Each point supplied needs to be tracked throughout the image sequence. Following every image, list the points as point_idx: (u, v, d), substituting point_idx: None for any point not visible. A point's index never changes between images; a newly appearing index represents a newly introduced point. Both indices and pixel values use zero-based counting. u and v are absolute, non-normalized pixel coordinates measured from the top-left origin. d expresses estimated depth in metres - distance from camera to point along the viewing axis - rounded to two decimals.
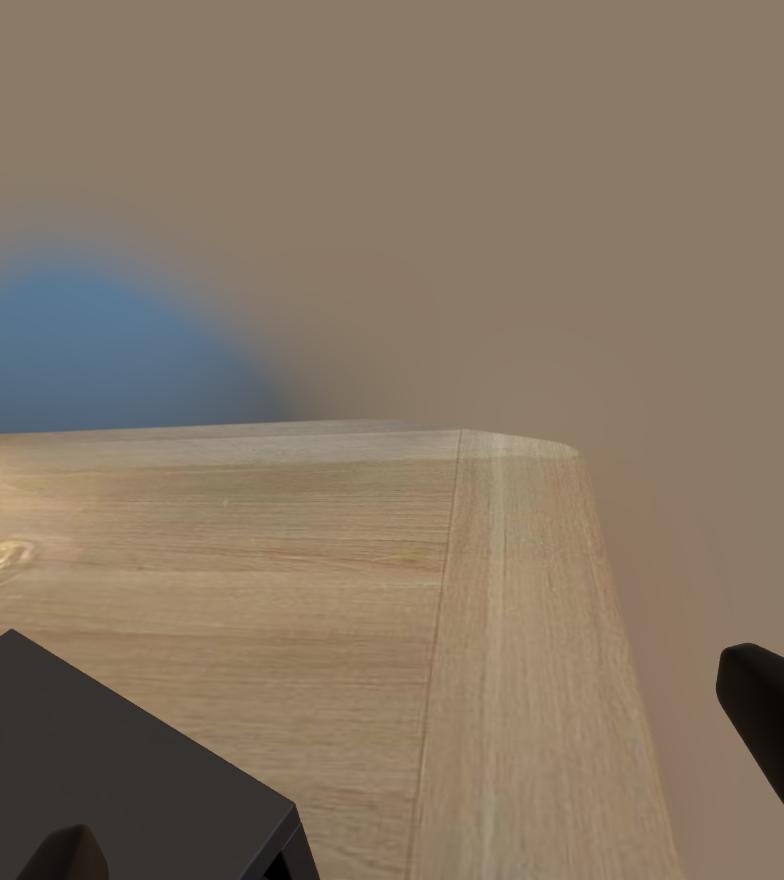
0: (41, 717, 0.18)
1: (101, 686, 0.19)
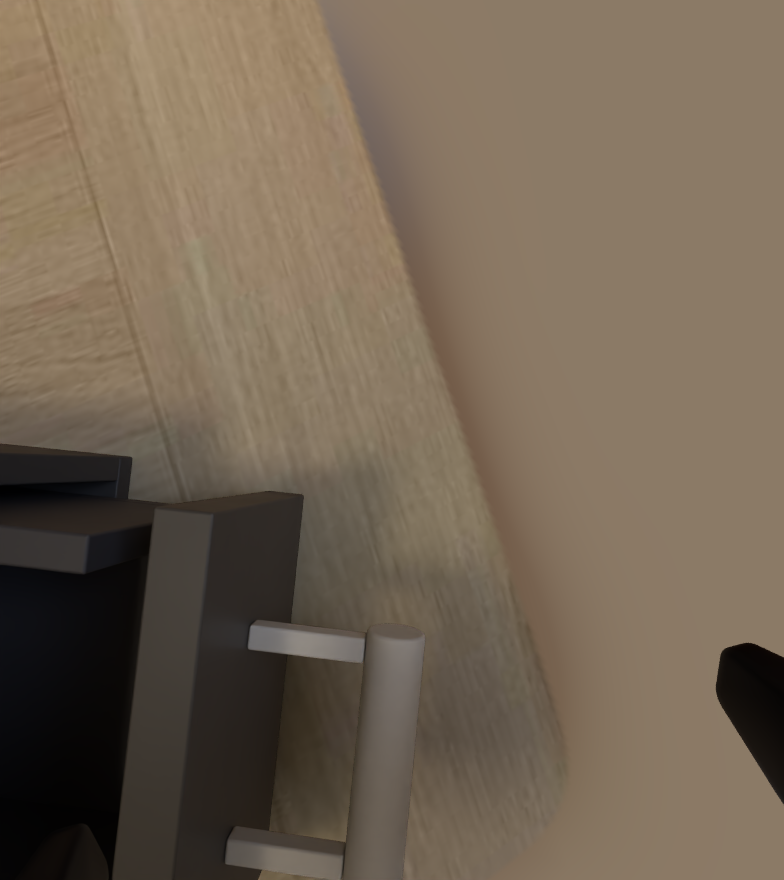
0: None
1: None
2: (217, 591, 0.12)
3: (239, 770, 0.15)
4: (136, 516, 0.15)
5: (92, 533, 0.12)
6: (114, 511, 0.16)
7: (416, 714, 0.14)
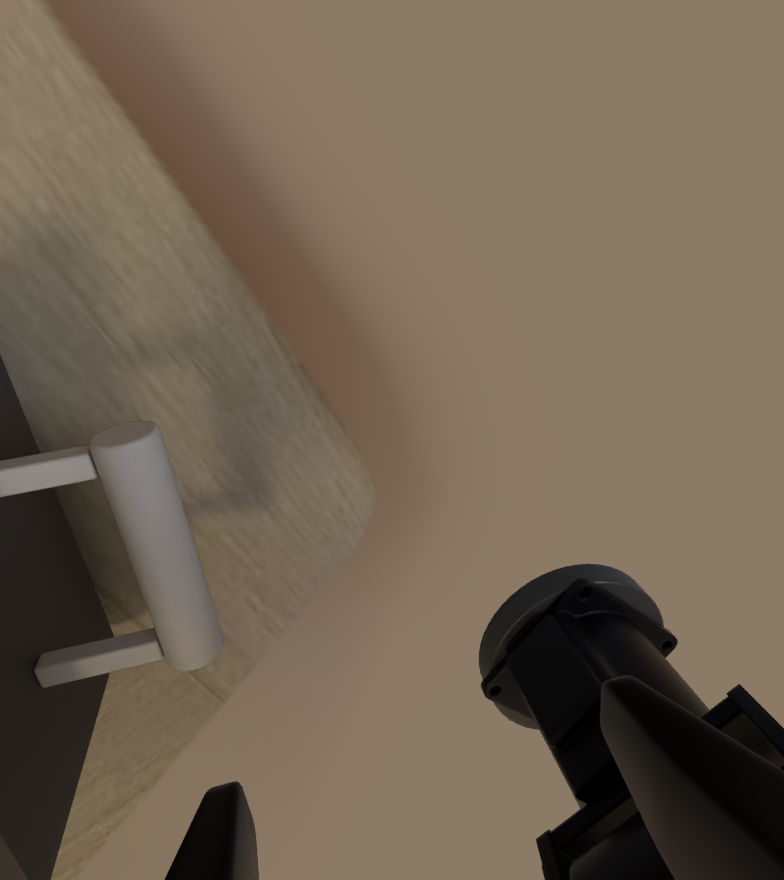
0: None
1: None
2: None
3: (18, 610, 0.14)
4: None
5: None
6: None
7: (177, 506, 0.13)
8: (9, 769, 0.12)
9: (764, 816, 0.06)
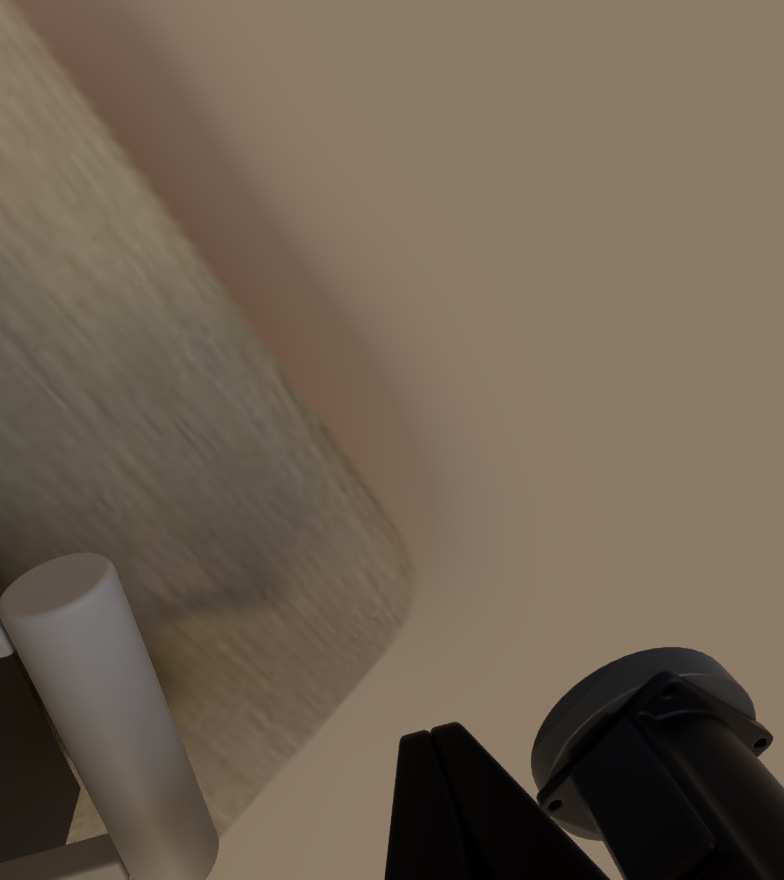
0: None
1: None
2: None
3: None
4: None
5: None
6: None
7: (145, 682, 0.08)
8: None
9: None
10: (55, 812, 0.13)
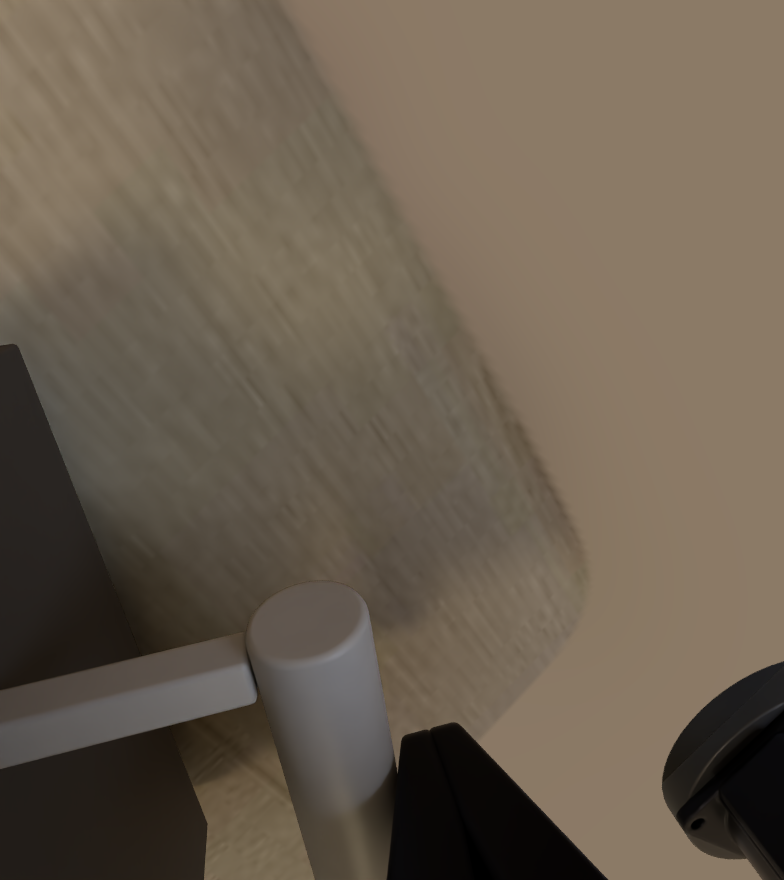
0: None
1: None
2: None
3: None
4: None
5: None
6: None
7: (387, 730, 0.07)
8: None
9: None
10: (193, 853, 0.12)
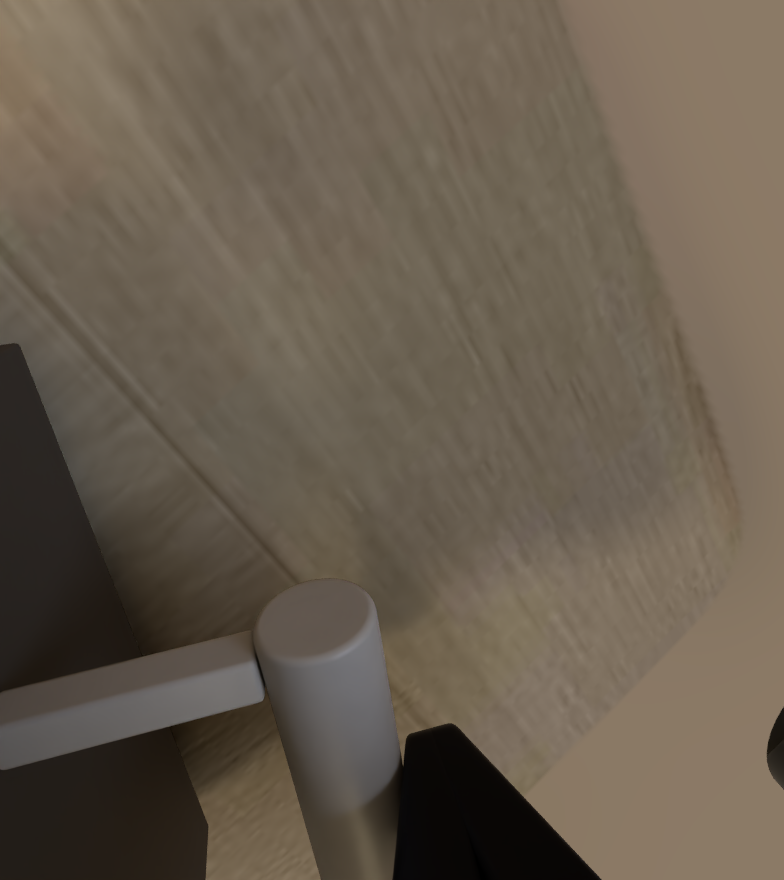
0: None
1: None
2: None
3: None
4: None
5: None
6: None
7: (394, 727, 0.07)
8: None
9: None
10: (195, 854, 0.12)
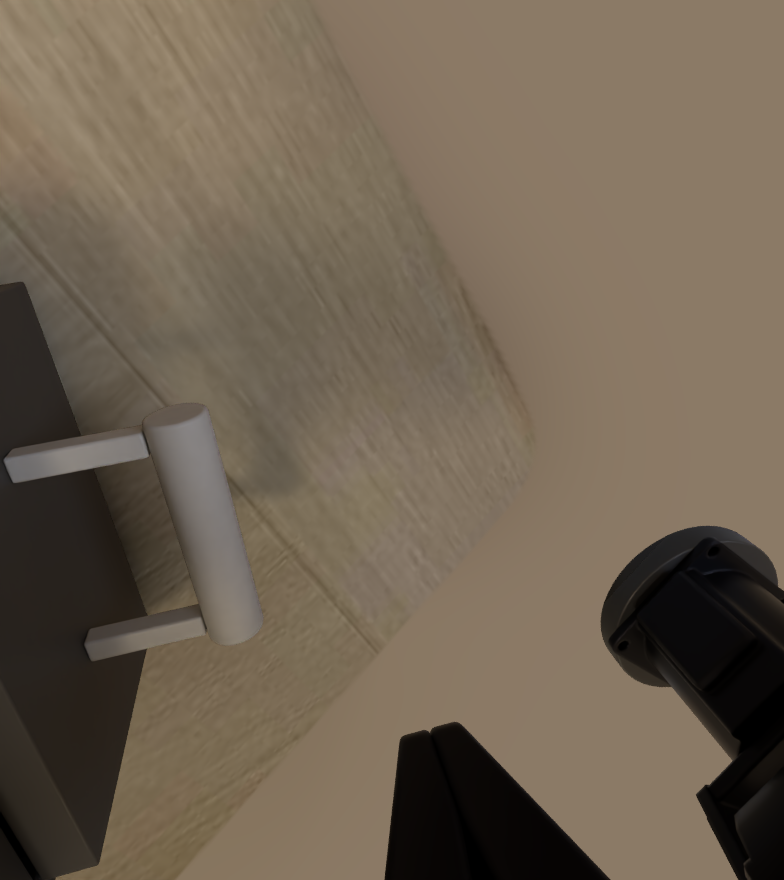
0: None
1: None
2: None
3: (69, 586, 0.14)
4: None
5: None
6: None
7: (224, 484, 0.14)
8: (67, 734, 0.13)
9: None
10: None
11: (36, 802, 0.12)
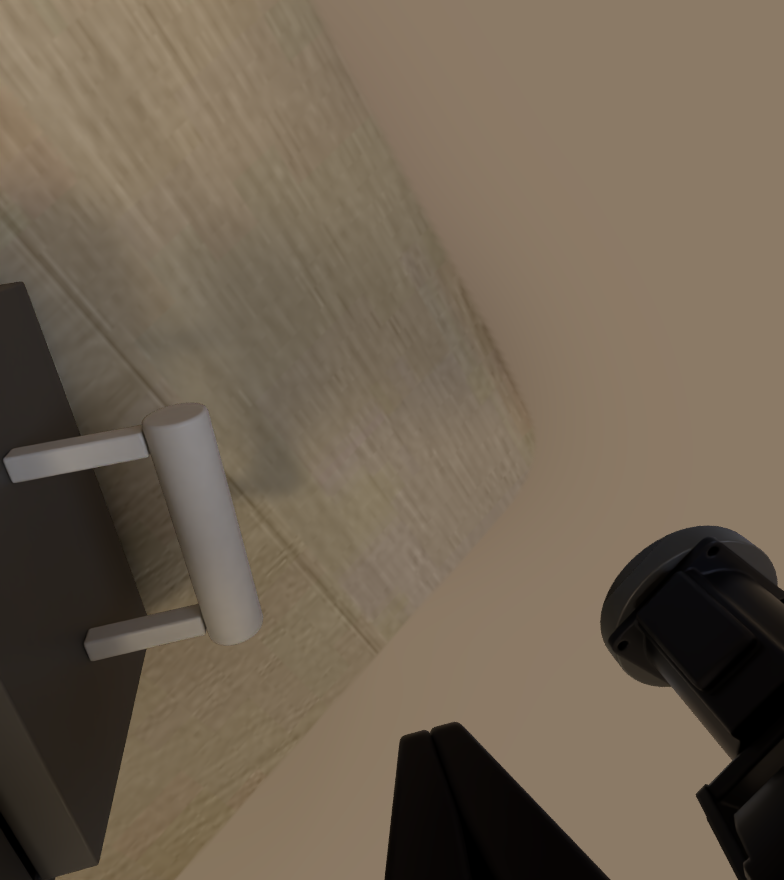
0: None
1: None
2: None
3: (69, 586, 0.14)
4: None
5: None
6: None
7: (224, 484, 0.14)
8: (66, 734, 0.13)
9: None
10: None
11: (36, 802, 0.12)
